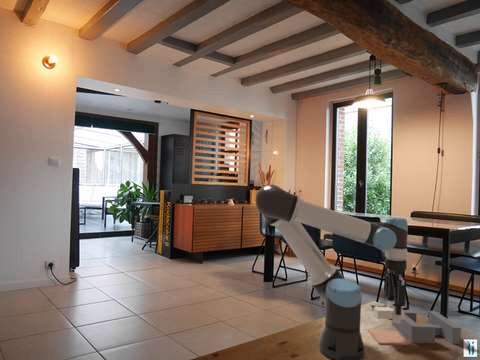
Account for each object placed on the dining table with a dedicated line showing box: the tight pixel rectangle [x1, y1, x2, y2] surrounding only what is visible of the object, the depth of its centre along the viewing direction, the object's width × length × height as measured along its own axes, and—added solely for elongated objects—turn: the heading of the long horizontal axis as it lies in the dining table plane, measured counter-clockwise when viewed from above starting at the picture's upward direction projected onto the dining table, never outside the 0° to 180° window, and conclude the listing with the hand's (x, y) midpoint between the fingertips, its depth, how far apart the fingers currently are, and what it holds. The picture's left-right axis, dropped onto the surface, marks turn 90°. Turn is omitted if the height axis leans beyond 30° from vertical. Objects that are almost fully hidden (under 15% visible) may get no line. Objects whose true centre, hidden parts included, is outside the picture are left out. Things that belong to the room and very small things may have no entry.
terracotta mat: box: [367, 329, 410, 346], centre depth 138 cm, size 11×11×1 cm
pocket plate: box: [391, 309, 462, 345], centre depth 143 cm, size 18×17×6 cm
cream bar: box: [373, 306, 405, 320], centre depth 138 cm, size 10×4×3 cm, turn 91°
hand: (394, 320), depth 138 cm, fingers closed on cream bar, 4 cm apart
